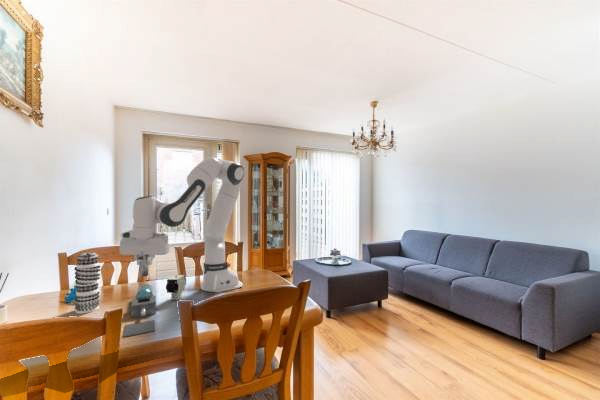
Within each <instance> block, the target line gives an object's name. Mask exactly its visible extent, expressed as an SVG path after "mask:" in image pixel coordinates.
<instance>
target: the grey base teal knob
mask: <svg viewBox="0 0 600 400" xmlns="http://www.w3.org/2000/svg"><path fill="white" fill-rule="evenodd" d="M156 297H157V296H156V295H154V290H153V287H152V285H150V284H148V283H144V284H141V285H139V286H138V287H137V289H136V295H135V298H132V300H131V305H130V317H131V319H133V318H139V317H145V316H150V315H151V316H152V315H156V313H157V312H156V311H157V310H156V309H157V308H156V307H157V303H156V302H157V299H156Z"/></svg>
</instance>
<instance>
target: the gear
mask: <svg viewBox="0 0 600 400" xmlns="http://www.w3.org/2000/svg"><path fill="white" fill-rule="evenodd" d="M76 291H77V286H76V284H75V285H74V286H73V288H72V287H71V288H69V292H67V293H66V294H65V297H64V299H63V300H64V302H65V303H72V302H76V301H75V300H76V297H75V296H76Z"/></svg>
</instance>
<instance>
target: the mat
mask: <svg viewBox="0 0 600 400" xmlns="http://www.w3.org/2000/svg"><path fill="white" fill-rule="evenodd" d="M155 323H156V321H155V319H153V320H146V321H141V322H134V323H129V324H124V330H123V335H122V338H123V337H124V338H129V337H132V336H133V337H134V336H139V335H143V334H148V333H154V332H155V331H156V330H155V329H156V328H155V327H156V326H155V325H156V324H155Z"/></svg>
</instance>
